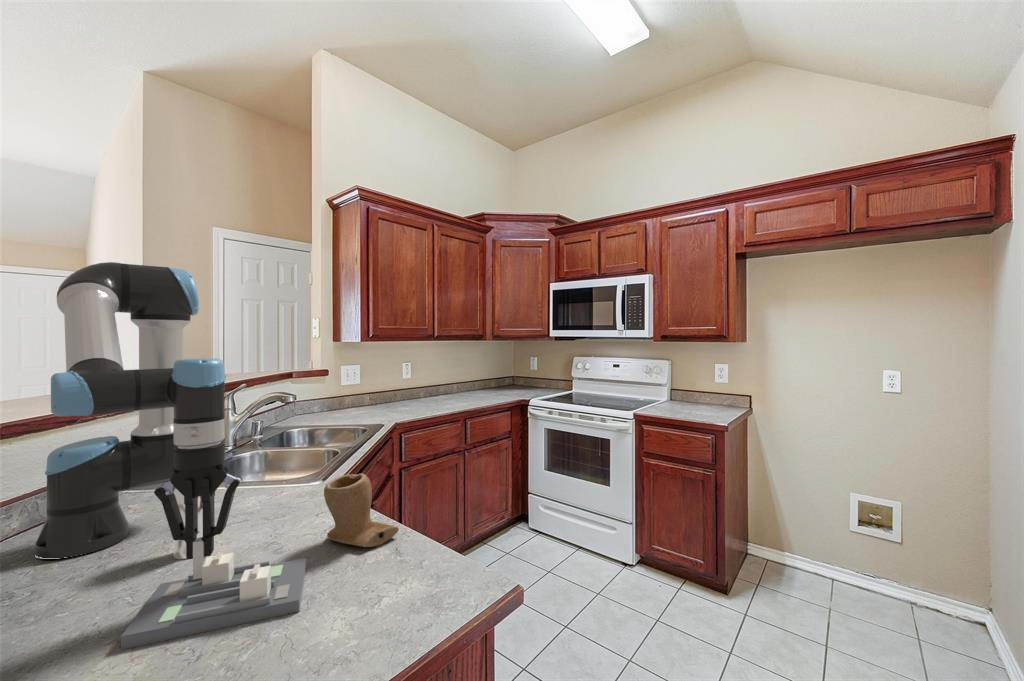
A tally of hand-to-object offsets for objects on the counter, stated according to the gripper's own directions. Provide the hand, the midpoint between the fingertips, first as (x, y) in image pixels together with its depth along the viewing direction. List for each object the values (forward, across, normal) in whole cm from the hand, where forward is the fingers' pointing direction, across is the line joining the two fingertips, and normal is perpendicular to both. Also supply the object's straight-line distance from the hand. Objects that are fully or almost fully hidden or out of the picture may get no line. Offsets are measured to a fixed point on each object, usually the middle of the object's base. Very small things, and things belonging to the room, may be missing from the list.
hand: (200, 574), depth 77 cm
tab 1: (+2, +3, 0) cm, 3 cm away
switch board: (+4, +5, -4) cm, 8 cm away
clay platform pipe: (+4, +27, +12) cm, 30 cm away
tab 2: (+2, +10, -8) cm, 13 cm away
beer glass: (+4, -7, +20) cm, 22 cm away
